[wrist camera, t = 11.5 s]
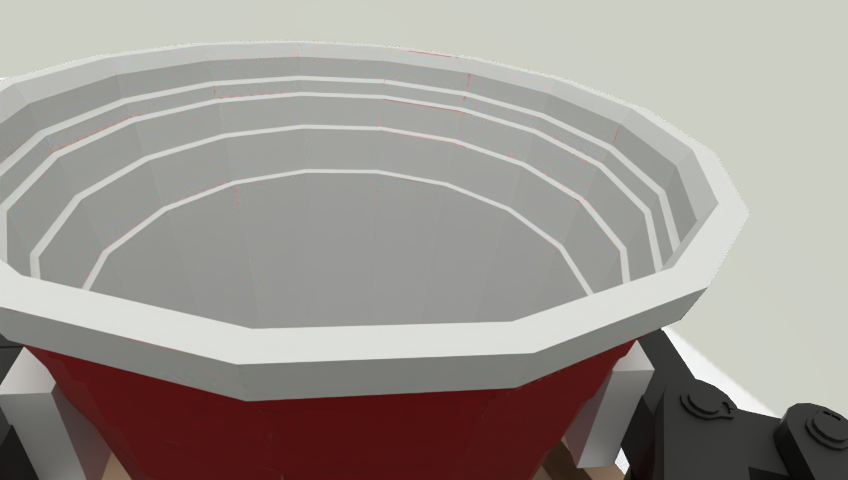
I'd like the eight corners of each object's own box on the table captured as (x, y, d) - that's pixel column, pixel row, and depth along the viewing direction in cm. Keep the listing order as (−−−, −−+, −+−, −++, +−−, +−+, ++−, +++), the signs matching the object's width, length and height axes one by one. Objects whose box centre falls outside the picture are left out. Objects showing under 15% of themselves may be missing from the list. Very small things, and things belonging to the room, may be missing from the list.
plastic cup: (532, 394, 20) (633, 29, 13) (595, 852, 11) (1026, 438, 4) (212, 364, 20) (146, -18, 13) (5, 798, 11) (-567, 289, 4)
